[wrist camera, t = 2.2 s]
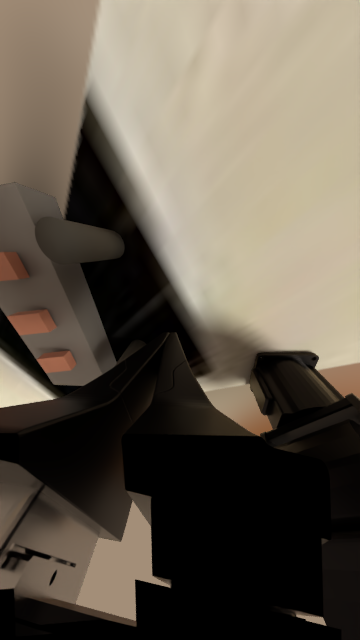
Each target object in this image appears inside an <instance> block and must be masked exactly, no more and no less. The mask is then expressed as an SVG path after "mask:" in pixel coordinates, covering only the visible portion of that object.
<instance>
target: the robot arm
mask: <svg viewBox="0 0 360 640" xmlns="http://www.w3.org/2000/svg"><path fill="white" fill-rule="evenodd" d="M261 357H262V358H261ZM318 360H319V357H318V356H317V355H316V354H315V353H259V354H257V356H256V360H255V365H254V368H253V369H252V372H251V377H250V389H251V391H252V392H253V393H254V396H255V398H256V401H257V403H258V406H259V408H260V411H261V413H262V414H263V415H267V416H268V419H269V421H270V423H271V425H272V428H273V430H271V431H269V432H263V433H261V434H260V436H258V435H255V434H253V433H251V432H250V431H248V430H246V429H245V428H243V427H242V426H240V425H239V424H238V423H236V422H234V421H233V420H232V419H230V418H229V417H227V416H226V415H224V414H223V413H221V412H220V411H219V410H217V409H216V408H215V407H214V406H213V405H212V403H211V402H210V401H209V399H208V398H207V396H206V395H205V393H204V391H203V390H202V388H201V386H200V385H199V383H198V381H197V380H196V378H195V376H194V375H193V373H192V371H191V369H190V366H189V364H188V362H187V359H186V357H185V354H184V351H183V349H182V346H181V344H180V341H179V339H178V336H177V334H176V332H170V333H169V332H164V333H162V334H160V335H159V336H158V337H156V338H155V339H153V340H152V341H151V342H149V343H148V344H146V345H145V346H143V347H142V348H141V349H139V350H138V351H136V352H135V353H133V354H132V355H131V356H129V357H128V358H126V359H125V360H123V361H122V362H121V363H119V364H118V365H116V366H115V367H113V368H112V369H110V370H109V371H107V372H105V373H104V374H102V375H101V376H99V377H97V378H96V379H94V380H92V381H91V382H89V383H87V384H86V385H84V386H82V387H81V388H79V389H77V390H76V391H74V392H72V393H70V394H68V395H66V396H63V397H61V398H57V399H53V400H47V401H41V402H35V403H29V404H22V405H16V406H10V407H3V408H0V640H360V399H359V398H358V397H357V396H355V395H354V394H353V393H351V394H349V395H346V396H345V397H346V398H344V397H343V396H342V395H341V394H340V393H339V392H338V391H337V390H336V389H335V388H334V387H333V386H332V385H331V384H330V383H329V382H328V381H327V380H326V379H325V378H324V377H323V376H322V375H321V374H320V373H319V372H318V371H317V370H316V369H315V366H316V364H317V362H318ZM132 500H133V501H134V503H135V504H136V506H137V507H138V508H139V510H140V511H141V513H142V514H143V516H144V517H145V518H146V520H147V521H148V523H149V524H150V526H151V536H152V537H151V539H152V574H153V576H154V577H156V578H157V579H159V580H161V581H163V582H165V583H166V584H168V585H170V588H169V587H165V586H160V585H156V584H152V583H148V582H144V581H140V580H135V589H136V621H134V620H130V619H127V618H123V617H119V616H116V615H112V614H108V613H105V612H101V611H97V610H94V609H90V608H87V607H83V606H79V605H76V601H77V598H78V595H79V592H80V589H81V586H82V584H83V581H84V578H85V575H86V572H87V569H88V566H89V563H90V560H91V557H92V555H93V552H94V549H95V546H96V543H97V540H98V537H99V538H104V539H109V540H115V541H119V542H121V540H122V537H123V533H124V530H125V526H126V523H127V519H128V515H129V511H130V508H131V504H132ZM296 615H305V616H315V617H323V618H324V621H325V623H326V626H324V625H321V624H316V623H312V622H308V621H306V620H305V619H302V618H298V617H296Z"/></svg>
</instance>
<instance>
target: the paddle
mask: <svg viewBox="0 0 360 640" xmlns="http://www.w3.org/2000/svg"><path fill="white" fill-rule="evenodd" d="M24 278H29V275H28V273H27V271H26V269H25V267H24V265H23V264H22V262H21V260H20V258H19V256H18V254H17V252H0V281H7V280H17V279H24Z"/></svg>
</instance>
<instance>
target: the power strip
mask: <svg viewBox="0 0 360 640" xmlns="http://www.w3.org/2000/svg"><path fill="white" fill-rule="evenodd" d="M43 217H53V218H58V219H62V220H63V217H62V214H61V212H60V209H59V206H58V204H57V201H56V198H55V197H53V196H51V195H48V194H46V193H43V192H40V191H37V190H35V189H32V188H29V187H26V186H24V185H21V184H18V183H16V182H14V183H9V184H3V185H0V252H17V254H18V256H19V258H20V260H21V262H22V264H23V265H24V267H25V269H26V271H27V273H28V275H29V278H24V279H17V280H7V281H0V308H1V309H2V311H3V312H4V313H5V315H6V316H9V315H12V314H14V313H17V312H25V311H34V310H44V309H47V310H48V312H49V314H50V315H51V317H52V319H53V321H54V323H55V325H56V326H57V327H56V328H55V329H53V330H52V331H51V332H47V333H37V334H28V335H20V336H21V338H22V339H23V341H24V342H25V344H26V345H27V347H28V348H29V349H30V351H31V352H32V354H33V355H34V357H35V358H36V359H38V358H39V357H40V356H41V355H43V354H44V353H51V352H60V351H70V352H71V354H72V356H73V358H74V360H75V362H76V363H77V364H76V365H75V367H74V368H73V369H72V370H69V371H61V372H52V373H46V374H47V375H48V377H49V378H50V380H51V381H52V383H53V384H54V385H79V386H84V385H86V384H87V383H89V382H91V381H92V380H94V379H96V378H97V377H99V376H101V375H102V374H104V373H105V372H107V371H109V370H110V369H112V368H113V367H114V366H115V365H116V363H117V362H116V359H115V357H114V354H113V351H112V349H111V346H110V343H109V341H108V338H107V335H106V333H105V330H104V327H103V325H102V322H101V319H100V316H99V314H98V311H97V308H96V306H95V303H94V300H93V298H92V295H91V292H90V290H89V287H88V284H87V282H86V279H85V276H84V273H83V271H82V268H81V265H80V263H77V264H69V265H60V264H57V263H55V262H53V261H52V260H50V259H49V258H48V257H47V256H46V255H45V254H44V253H43V252H42V251H41V249H40V247H39V245H38V243H37V241H36V237H35V226H36V223H37V222H38V220H39V219H41V218H43ZM11 324H12V323H11ZM18 334H19V333H18ZM43 370H44V369H43Z"/></svg>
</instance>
